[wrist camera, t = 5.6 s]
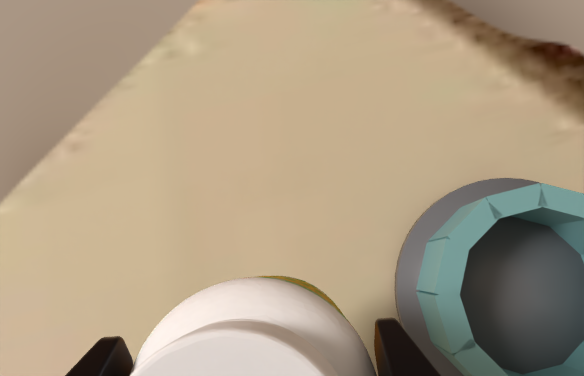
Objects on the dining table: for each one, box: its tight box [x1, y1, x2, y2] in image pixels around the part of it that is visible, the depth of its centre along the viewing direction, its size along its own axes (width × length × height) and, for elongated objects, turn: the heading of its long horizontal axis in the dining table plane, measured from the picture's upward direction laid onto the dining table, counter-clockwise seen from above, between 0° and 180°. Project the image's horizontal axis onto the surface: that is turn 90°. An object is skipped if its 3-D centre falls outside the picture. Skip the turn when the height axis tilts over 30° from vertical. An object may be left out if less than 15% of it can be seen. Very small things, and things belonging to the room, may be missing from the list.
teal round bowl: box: [395, 178, 584, 376], centre depth 19 cm, size 11×11×4 cm
